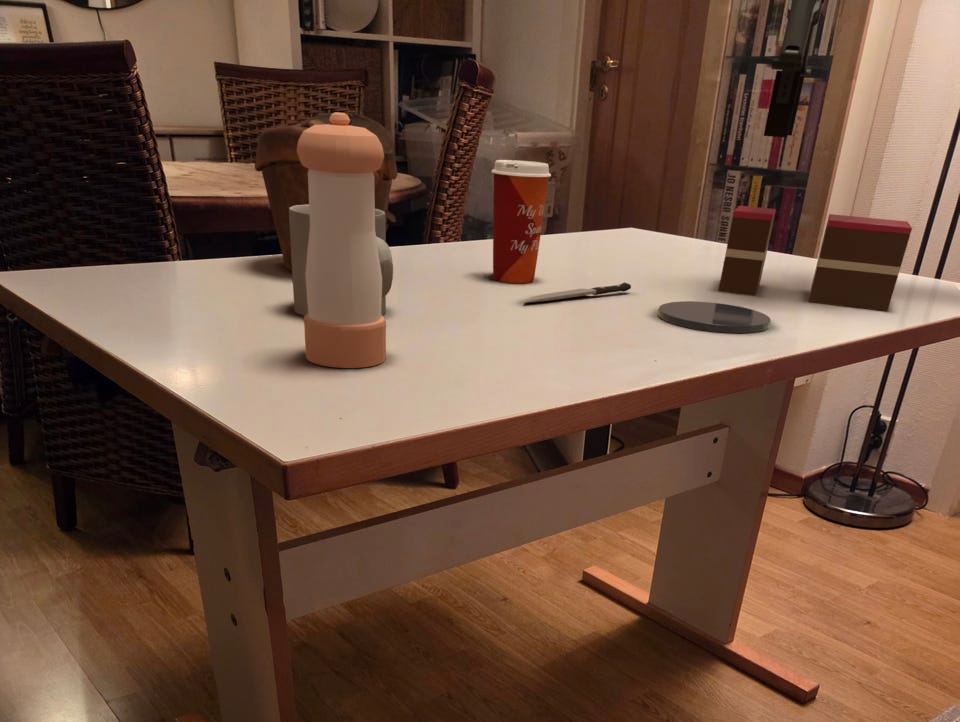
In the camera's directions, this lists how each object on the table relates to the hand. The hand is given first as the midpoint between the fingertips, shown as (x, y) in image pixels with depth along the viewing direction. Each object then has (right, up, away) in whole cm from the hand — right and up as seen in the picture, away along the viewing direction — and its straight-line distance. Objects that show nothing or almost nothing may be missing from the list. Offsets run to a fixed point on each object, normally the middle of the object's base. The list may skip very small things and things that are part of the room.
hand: (778, 136), depth 108 cm
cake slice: (-1, -14, +13) cm, 19 cm away
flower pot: (-58, -14, +8) cm, 60 cm away
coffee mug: (-52, -28, -14) cm, 61 cm away
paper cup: (-33, -14, +9) cm, 37 cm away
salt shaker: (-50, -38, -29) cm, 69 cm away
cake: (+13, -17, +10) cm, 23 cm away
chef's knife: (-26, -20, +1) cm, 33 cm away
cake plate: (-10, -25, -6) cm, 28 cm away
